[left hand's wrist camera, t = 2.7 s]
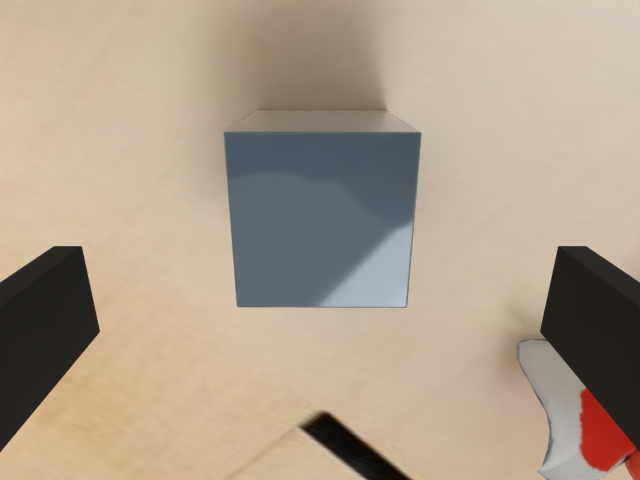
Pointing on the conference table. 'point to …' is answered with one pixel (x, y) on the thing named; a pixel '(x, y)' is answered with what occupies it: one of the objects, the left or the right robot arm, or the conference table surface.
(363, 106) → the conference table surface
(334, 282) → the grey rectangular block
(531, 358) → the fish
